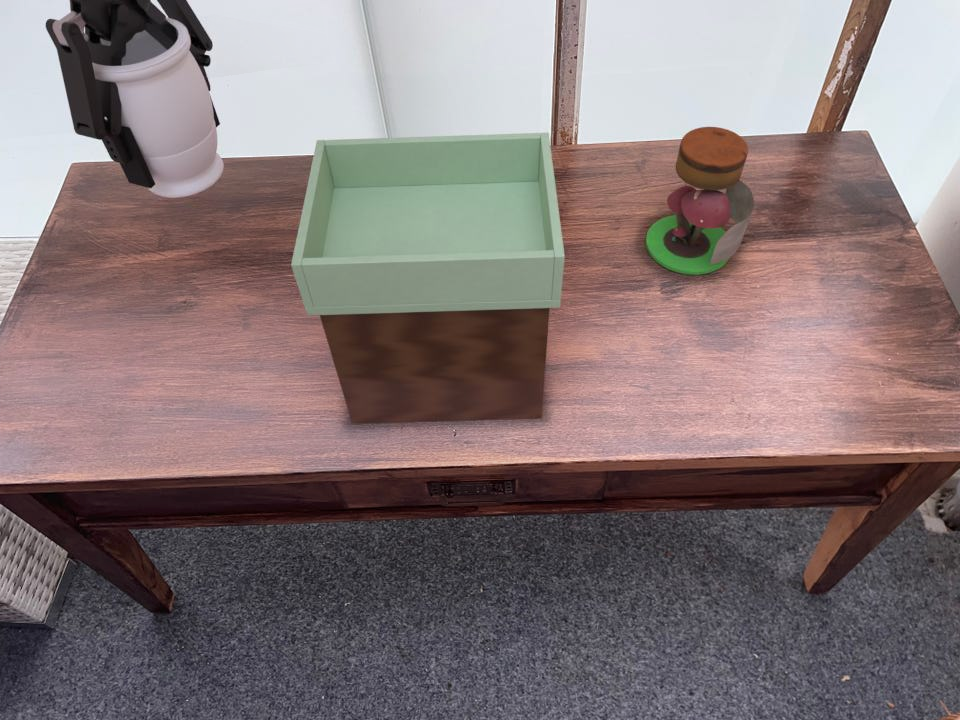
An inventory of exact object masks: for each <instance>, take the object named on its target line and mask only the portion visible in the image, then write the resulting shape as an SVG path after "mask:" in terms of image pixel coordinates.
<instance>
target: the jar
mask: <svg viewBox="0 0 960 720" xmlns="http://www.w3.org/2000/svg"><path fill="white" fill-rule="evenodd" d="M166 20H167V21H168V22H169V23H170V24H171V25H173V26H174V27H175V28H176V33H177V37H178V39H177V41H176V43H175V44H174V45H173V46H172V47H171V48H170V49H169V50H167V49H166V48H165V47H164V46H162V45H161V44H160V43H159V42H158V41H157V40H156V39H154V38H153V37H152V36H151V35H150V34H149V33H148V32H147V31H145V30H144V31H142V32H139V33H136V34H135V35H134V36H133V38H132V39H131V40H130V41H129V42H127V43H126V55H125V56H124V57H123V58H122V66H105V65H99V64H96V63H93V62H92V64H93V69H94V74H95V79H97V80H101V81H109V82H115V83H116V85H117V87H118V92H119V97H120V101H121V105H122V111H121V126H125V127H129V128H130V129H131V131H132V134H133V136H134V138H135V140H136V142H137V145H138V147H139V149H140V151H141V153H142V155H143V158H144V160H145V162H146V164H147V166H148V169H149V171H150V173H151V175H152V177H153V180H154V182H155V185H154V186H153V187H152V188H147V189H148V191H150V192H151V193H153V194H154V195H157V196H158V197H162V198H169V199H179V198H186V197H191V196H194V195H197V194H199V193H202V192H204V191H206V190H207V189H209V188H211V187H212V186H214V185H215V184H216V183H217V182H218V180H219V179H220V178H221V177H222V175H223V172H224V168H225V164H224V160H223V158H222V156H220V154H219V153H218V152H217V151H218V132H217V127H216V125H215V120H214V114H213V106H212V102H213V100H212V101H211V99H212V96H211V94H210V91H209V90H208V87H207V84H206V81H205V79H204V76H203V74H202V72H201V70H200V68H199V66H198V64H197V62H196V60H195V58H194V57H193V55H192V54H191V52H190V51H189V49H190V45H191V40H190V36H189V33H188V30H187V28H186V27H185V26H184V25H183V24H182V23H181V22H179V21H177V20H174V19H171V18H168V17H166ZM100 41H101V43H102V44H103V45H108V46H110V45H111V42H110V41H106V40H103V39H102V38H100ZM210 96H211V97H210ZM105 119H106V120H107V118H106V117H105Z"/></svg>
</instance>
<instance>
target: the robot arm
mask: <svg viewBox="0 0 960 720" xmlns="http://www.w3.org/2000/svg"><path fill="white" fill-rule="evenodd" d="M156 1H157V3H158V4H159V6H160V8H161V9H162V11H161V10H160V9H159V8H158V6H156V5H155V4H154V3H153V2H152V0H69V9H70V12H69V13H67V14H66V15H65V16H63V17H62V18H60V19H56V18H48V19H47V20H46V21H45V29H46V31H47V33H48V35H49V37H50V39H51V41H52V43H53V45H54V47H55V49H56V52H57V56H58V57H57V58H58V61H59V65H60V66H59V67H60V70H61V76H62V80H63V85H64V89H65V93H66V99H67V104H68V107H69V112H70V117H71V121H72V125H73V126H72V127H73V130H74V132H75V134H76V135H78V136H82V137H86V138H90V139H95V140H99V141H101V142H102V143H103V145H104V148H105V150H106V151H107V154H108V155H109V158H110V159H111V160H112V161H113V162H115V163H119V165H120V166H121V169H122V172H123V173H124V175H125V177H126V179H127V181H128V183H129V184H132V185H136V186H140V187H144V188H146V189H148V188H152V187H153V186H154V185H155V182H154V180H153V177H152V175H151V173H150V171H149V169H148V166H147V164H146V162H145V160H144V158H143V155H142V153H141V151H140V149H139V147H138V145H137V142H136V140H135V138H134V136H133V134H132V131H131V129H130V128H129V127H125V126H121V111H122V105H121V101H120V97H119V92H118V87H117V85H116V83H115V82H109V81H101V80H97V79H95V74H94V69H93V64H92V62H93V63H96V64H99V65H105V66H122V58H123V57H124V56H125V55H126V43H127V42H129V41H130V40H131V39H132V38H133V36H134V35H135V34H136V33H139V32H142V31H144V30H145V31H147V32H148V33H149V34H150V35H151V36H152V37H153V38H154V39H156V40H157V41H158V42H159V43H160V44H161V45H162V46H164V47H165V48H166V49H167V50H169V49H170V48H171V47H172V46H173V45H174V44H175V43H176V41H177V39H178V37H177V33H176V28H175V27H174V26H173V25H171V24H170V23H169V22H168V21H167V20H166V18H171V19H174V20H177V21H179V22H181V23H182V24H183V25H184V26H185V27H186V28H187V30H188V33H189V36H190V40H191V45H190V49H189V51H190V52H191V54H192V55H193V57H194V58H195V60H196V62H197V64H198V66H199V68H200V70H201V72H202V74H203V76H204V79H205V81H206V84H207V87H208V90H209V92H211V84H210V80H209V77H208V75H207V72H206V69H205V68H208V67H209V66H211V63H212V60H211V59H212V58H211V56H210V55H209V54H206V53H207V52H211V51H212V50H213V47H214V45H213V40H212V39H211V38H210V35H209V34H208V32H207V31H206V29H205V28H204V26H203V25H202V23H201V21H200V20H199V18H198V16H197V14H196V13H195V12H194V10H193V9H192V6H191V5H190V3H189V2H188V0H156ZM164 13H165V14H164ZM100 38H102V39H103V40H106V41H110V42H111V45H110V46H108V45H103V44H102V43H101V41H100ZM210 97H211V101H212V106H213V114H214V120H215V125H216V128H218V127H219V126H220V125H221V122H220V119H219V116H218V113H217V111H216V108H215V104H214V102H213V99H212V96H211V95H210ZM105 117H106V118H107V120H106V119H105Z"/></svg>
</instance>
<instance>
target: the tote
mask: <svg viewBox="0 0 960 720" xmlns="http://www.w3.org/2000/svg"><path fill="white" fill-rule="evenodd" d="M550 139H551V138H550V133H549V132H527V133H525V132H524V133H498V134H496V133H495V134H493V133H492V134H467V135H438V136H437V135H436V136H409V137H408V136H407V137H378V138H377V137H376V138H347V139H344V138H343V139H317V140H316V142H315V147H314V152H313V157H312V162H311V168H310V170H309V177H308V180H307V186H306V191H305V196H304V201H303V205H302V211H301V215H300V220H299V225H298V230H297V235H296V239H295V244H294V249H293V253H292V258H291V263H290V266H291V270H292V272H293V275H294V276H293V277H294V279H295V282H296V285H297V289H298V292H299V294H300V298H301V301H302V304H303V307H304V309H305V314H306V316H320V315H340V314H373V313H405V312H437V311H469V310H502V309H534V308H550V309H557V308H558V309H560V308H561V302H562V292H563V282H564V269H565V268H564V267H565V258H566V254H565V247H564V241H563V231H562V224H561V218H560V217H561V216H560V209H559V201H558V194H557V193H558V192H557V186H556V178H555V171H554V163H553V155H552V148H551V147H552V146H551V140H550Z"/></svg>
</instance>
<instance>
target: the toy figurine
mask: <svg viewBox="0 0 960 720" xmlns="http://www.w3.org/2000/svg"><path fill="white" fill-rule="evenodd" d="M748 154H749V146H748V144H747V142H746V141H745V139H744V138H743V137H742V136H740V135H739V134H738V133H736V132H735V131H732V130H729V129H727V128H723V127H718V126H701V127H697V128H694V129H692V130H689V131H688V132H687V133H685V134H684V135H683V137H682V138H681V141H680V144H679V148H678V153H677V157H676V162H675V172H676V174H677V176H678V178H679V179H681V180H682V181H683V182H684V183H686V184H687V185H683V186H681V187H678V188H676V189H675V190H674V191H672V192H671V193H670V194H669V195H668V196H667V198H666V204H667V206H668V209H670V211H672V212H673V213H675V214H673V215H668V216H665V217H662V218H660V219H658V220H657V221H655V222H654V223H653V224H652V225H651V226H650V227H649V228H648V231H647V233H646V235H645V247H646V250H647V253H648V254H649V256H650V257H651V258H652V259H653V260H654V261H655V262H656V263H657V264H659V265H660V266H662V267H663V268H665V269H667V270H670V271H672V272H674V273H678V274H683V275H690V276H691V275H692V276H695V275H699V276H700V275H705V274H710V273H713V272H715V271H717V270H719V269H721V268H723V267H724V266H725V265H726V264H727V263H728V261H729V260H730V258H731V257H733V256H734V254H735V253H736V252H737V251H738V250H739V248H740V246H741V244H742V241H743V239H744V236H745V233H746V230H747V228H748V226H749V224H750V221H751V218H752V217H751V216H752V213H753V210H754V206H755V199H754V195H753V192H752V190H751V189H750V187H749V186H748V185H747V184H746V183H745V182H743V181H742V180H740V179H741V177H742V173H743V171H744V167H745V164H746V162H747V157H748ZM697 189H698V190H697ZM721 190H725V192H723V191H721ZM730 218H731V219H732V220H733V221H734V222H735V224H734V225H731V226H730V227H729V228H728V229H727V230H725V229H724V228H722V227H723V226H725V225H726V224H728V223H729V221H730Z"/></svg>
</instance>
